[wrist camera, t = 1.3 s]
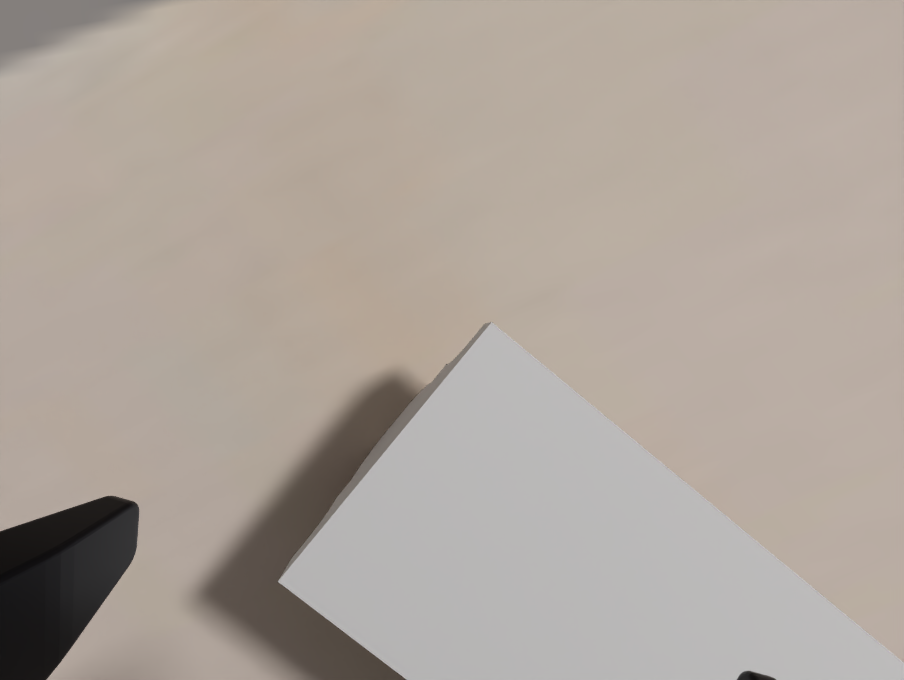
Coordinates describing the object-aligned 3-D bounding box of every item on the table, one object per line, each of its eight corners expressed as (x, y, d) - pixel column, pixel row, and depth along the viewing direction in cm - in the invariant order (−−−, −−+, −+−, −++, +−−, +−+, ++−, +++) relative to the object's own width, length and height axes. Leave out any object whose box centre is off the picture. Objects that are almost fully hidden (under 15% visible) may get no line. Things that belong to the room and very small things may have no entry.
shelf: (479, 318, 24) (491, 322, 18) (975, 727, 26) (1113, 836, 20) (312, 521, 24) (277, 581, 19) (813, 909, 26) (909, 1062, 21)
